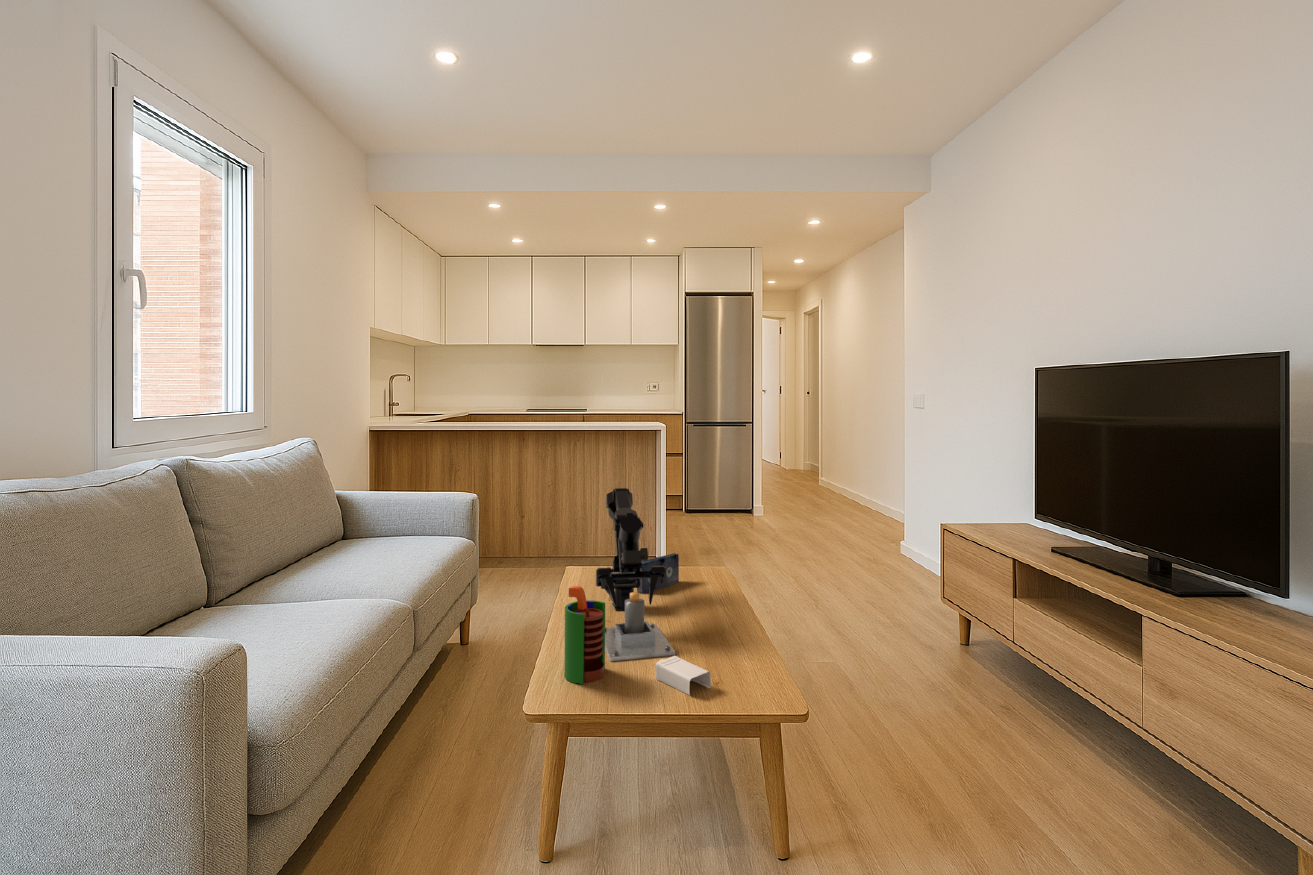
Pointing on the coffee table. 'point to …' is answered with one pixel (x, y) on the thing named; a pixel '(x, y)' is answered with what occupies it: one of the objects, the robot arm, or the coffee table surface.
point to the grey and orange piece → (634, 614)
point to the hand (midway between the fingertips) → (633, 604)
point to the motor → (584, 638)
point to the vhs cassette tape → (671, 571)
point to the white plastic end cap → (681, 673)
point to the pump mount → (636, 643)
